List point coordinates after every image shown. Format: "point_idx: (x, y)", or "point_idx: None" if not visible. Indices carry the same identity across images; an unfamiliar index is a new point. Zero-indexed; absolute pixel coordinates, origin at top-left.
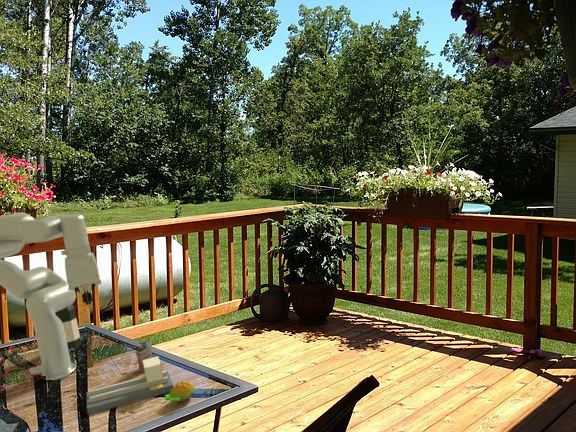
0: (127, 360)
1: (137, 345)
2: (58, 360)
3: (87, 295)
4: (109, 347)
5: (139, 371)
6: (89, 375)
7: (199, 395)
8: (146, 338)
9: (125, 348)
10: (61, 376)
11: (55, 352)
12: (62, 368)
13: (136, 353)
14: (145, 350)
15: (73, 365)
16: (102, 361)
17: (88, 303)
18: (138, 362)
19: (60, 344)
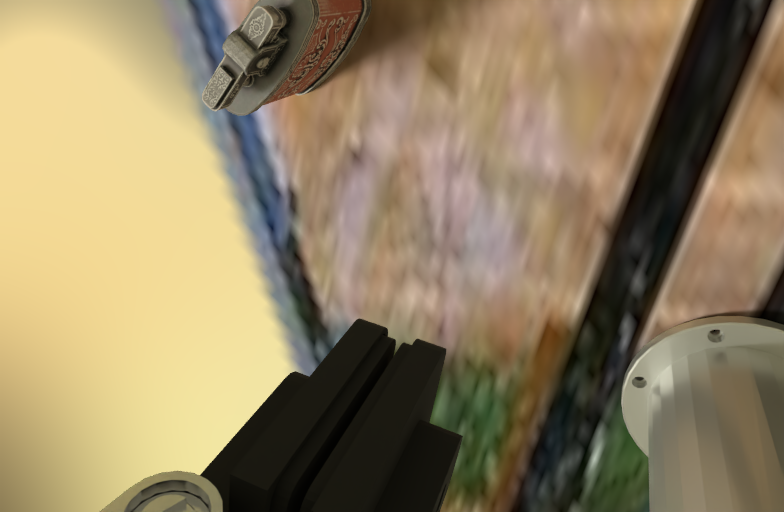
0: (385, 232)
1: (272, 24)
2: (755, 401)
3: (297, 457)
4: None
5: (367, 1)
6: (605, 219)
7: None
8: (204, 99)
9: None
10: (750, 321)
11: (778, 444)
12: (729, 363)
13: (313, 3)
14: (256, 4)
15: (637, 394)
16: (489, 334)
17: (389, 345)
18: (340, 2)
19: (728, 475)
